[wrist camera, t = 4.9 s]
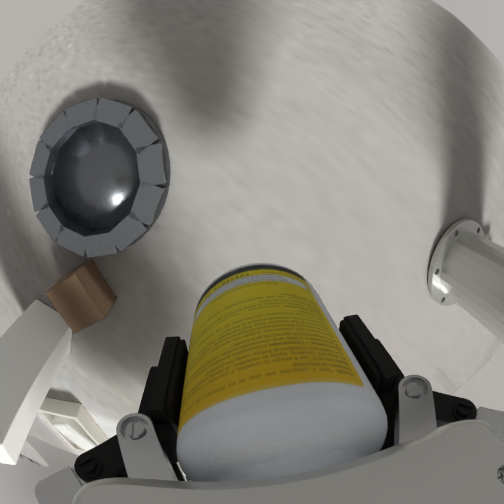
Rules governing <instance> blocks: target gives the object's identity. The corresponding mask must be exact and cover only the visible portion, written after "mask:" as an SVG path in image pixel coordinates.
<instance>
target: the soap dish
mask: <svg viewBox="0 0 504 504" xmlns="http://www.w3.org/2000/svg"><path fill="white" fill-rule="evenodd" d="M39 412H40V413H41V414H42V416H43V417H44V418H45V419H46V420H47V422H48V423H49V424H50V425H51V426H52V427H53V425H52V421H53V419H54V416H55V415H56V416H61V417H65V418H70V419H75V420H76V421H77V422H78V424H79V425H80V426H81V427H82V428H83V430H84V431H85V432H86V433H87V434H88V435H89V436H90V437H91V439H92V440H93V441H94V442H95V443H96V444H97V445H99V444H101V443H103V442H105V441H106V440H108V439H109V438H108V437H107V435H106V434H105V433H104V432H103V431H102V429H101V428H100V427H99V426H98V424H97V423H96V422H95V421H94V419H93V418H92V417H91V415H90V414H89V413H88V411H87V410H86V409H85V407H84V406H83V405H82V404H81V403H74V402H68V401H62V400H57V399H52V398H47V397H45V399H44V401H43V403H42V405H41V407H40V409H39ZM53 428H54V430H55V431H56V432H57V433H58V434H59V435H60V436H61V437H62V438H63V439H64V440H65V441H66V442H67V443H68V444H69V445H70V446H71V447H72V448H73V449H74V450H78V451H82V452H86V451H85V450H83V449H81V448H80V447H79V446H77V445H76V444H75V443H73V442H72V441H71V440H69V439H68V438H67V437H66V436H64V435H63V434H62V433H61V432H59V431H58V430H57V429H56V428H55V427H53Z"/></svg>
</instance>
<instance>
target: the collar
mask: <svg viewBox="0 0 504 504" xmlns="http://www.w3.org/2000/svg"><path fill="white" fill-rule="evenodd" d="M41 139H42V141H38V144H37V147H36V150H35V154H34V158H33V162H32V166H31V170H30V175H32V176H34V177H33V178H30V179H29V181H30V188H31V195H32V201H33V206H34V212H36V211H39V210H40V211H39V213H38V214H37V215H36V216H37V218H38V219H39V221H40V222H41V224H42V225H43V227H44V228H45V230H46V231H47V233H48V234H49V235H50V237H51V238H52V240H53V241H56V240H57V239H58V241H57V244H58V245H60V246H62V247H64V248H66V249H68V250H70V251H72V252H74V253H76V254H78V255H80V256H82V257H84V256H85V255H87V258H89V257H97V256H104V255H112V254H117V253H118V252H119V251H121V252H122V251H123V250H124V249H125V248H126V247H128V246H130V245H132V244H133V243H135V242H136V241H137V240H139V239H140V238H141V237H142V236H143V235H144V234H145V233H146V232H148V230H149V229H150V228H151V227H152V225H153V224H154V223H155V221H156V220H157V218H158V216H159V215H160V213H161V211H162V209H163V206H164V204H165V201H166V198H167V195H168V190H169V185H170V160H169V154H168V150H167V147H166V143H165V141H164V138H163V136H162V134H161V132H160V131H159V129H158V127H157V126H156V124H155V123H154V122H153V121H152V120H151V119H150V117H149V116H147V115H146V114H145V113H144V112H143V111H141V110H140V109H138V108H136V107H135V106H133V105H131V104H128V103H126V102H123V101H118V100H109V99H105V98H100V99H99V98H94V99H91V100H88V101H85V102H82V103H79V104H76V105H74V106H71V107H69V108H66V112H64V111H62V112H61V113H60V114H59V115H58V116H57V118H56V119H55V120H54V121H53V122H52V123H51V125H50V126H49V127H48V128H47V129H46V131H45V132H44V133H43V134H42V136H41Z"/></svg>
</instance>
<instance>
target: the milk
mask: <svg viewBox="0 0 504 504" xmlns="http://www.w3.org/2000/svg"><path fill="white" fill-rule="evenodd" d="M71 338H72V330H71V329H70V327H69V326H68V325H67V323H66V322H65V321H64V319H63V318H62V317H61V315H60V314H59V312H57V311H55V310H53V309H52V308H50V307H48V306H47V305H45V304H44V303H42V302H40V301H39V300H37V299H36V300H35V301H34V302H33V303H32V304H31V305H30V306H29V307H28V308H27V309H26V310H25V311H24V312H23V313H22V315H21V316H20V317H19V318H18V319H17V320H16V321H15V322H14V323H13V324H12V325H11V327H10V328H9V329H8V330H7V331H6V332H5V333H4V334H3V336H2V337H1V338H0V463H5V464H12V465H15V464H16V462H17V460H18V457H19V454H20V452H21V449H22V447H23V444H24V442H25V440H26V437H27V435H28V433H29V430H30V428H31V426H32V424H33V421H34V419H35V417H36V415H37V413H38V411H39V409H40V407H41V405H42V403H43V401H44V399H45V397H46V395H47V393H48V391H49V389H50V387H51V385H52V383H53V381H54V380H55V378H56V376H57V374H58V372H59V371H60V369H61V367H62V365H63V364H64V362H65V360H66V358H67V357H68V355H69V353H70V347H71Z"/></svg>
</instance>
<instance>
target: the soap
mask: <svg viewBox="0 0 504 504" xmlns="http://www.w3.org/2000/svg"><path fill="white" fill-rule="evenodd" d="M52 425H53V427H55V428H56V429H57V430H58V431H59V432H61V433H62V434H63V435H64V436H66V437H67V438H68V439H69V440H71V441H72V442H73V443H75V444H76V445H77V446H79V447H80V448H81V449H83V450H85V451H88V450H90V449H92V448H94V447H96V446H97V444H96V443H95V442H94V441H93V440H92V439H91V437H90V436H89V435H88V434H87V433H86V432H85V431H84V430H83V428H82V427H81V426H80V425H79V424H78V422H77V421H76V420H75V419H70V418H65V417H61V416H56V415H55V416H54V419H53V421H52Z"/></svg>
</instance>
